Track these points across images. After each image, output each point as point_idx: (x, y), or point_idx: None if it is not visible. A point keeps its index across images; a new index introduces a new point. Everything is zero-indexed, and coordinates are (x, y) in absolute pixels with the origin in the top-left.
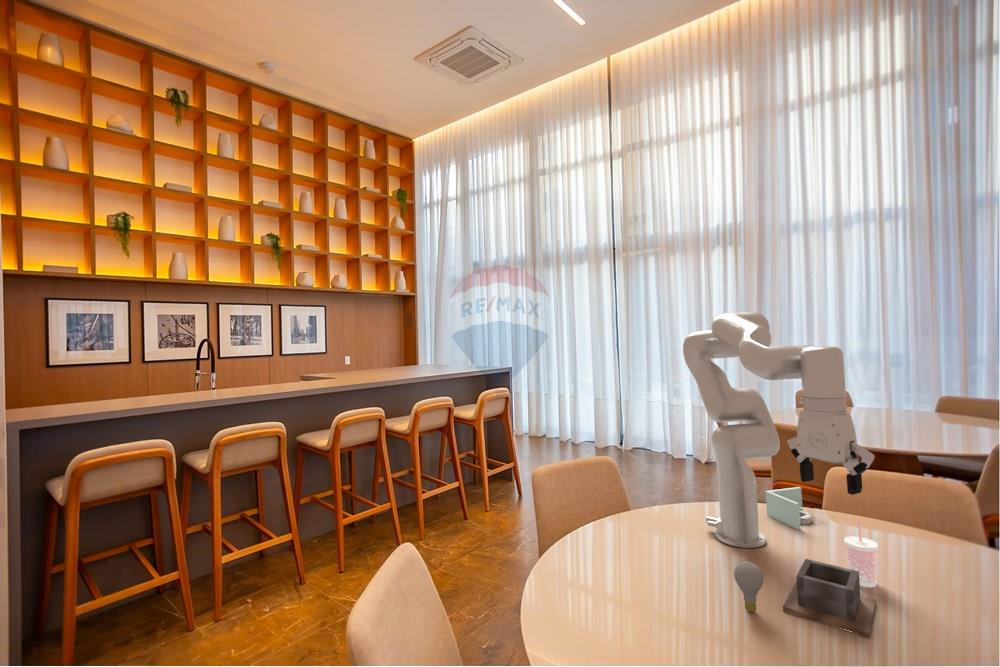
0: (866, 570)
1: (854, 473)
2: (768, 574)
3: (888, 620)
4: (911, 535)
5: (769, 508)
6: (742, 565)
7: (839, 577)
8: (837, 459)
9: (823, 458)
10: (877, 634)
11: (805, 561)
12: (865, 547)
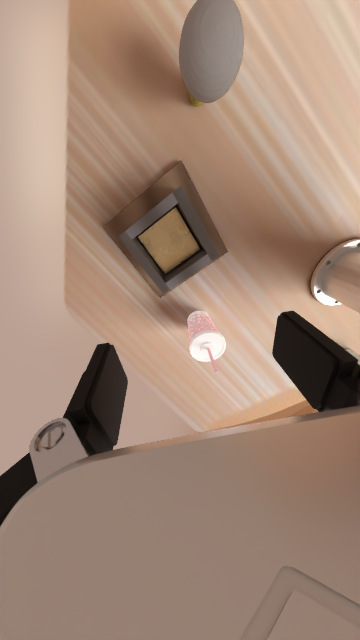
0: (191, 324)
1: (49, 433)
2: (259, 230)
3: (132, 280)
4: (239, 413)
5: (354, 355)
6: (220, 3)
7: (176, 271)
8: (48, 509)
9: (197, 457)
10: (110, 244)
11: (213, 248)
12: (194, 341)
